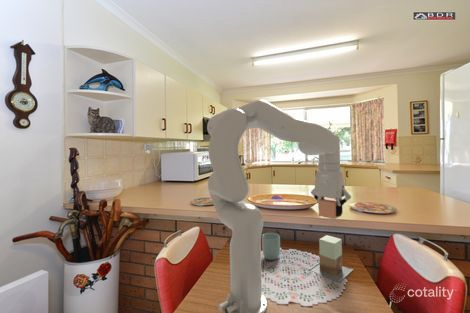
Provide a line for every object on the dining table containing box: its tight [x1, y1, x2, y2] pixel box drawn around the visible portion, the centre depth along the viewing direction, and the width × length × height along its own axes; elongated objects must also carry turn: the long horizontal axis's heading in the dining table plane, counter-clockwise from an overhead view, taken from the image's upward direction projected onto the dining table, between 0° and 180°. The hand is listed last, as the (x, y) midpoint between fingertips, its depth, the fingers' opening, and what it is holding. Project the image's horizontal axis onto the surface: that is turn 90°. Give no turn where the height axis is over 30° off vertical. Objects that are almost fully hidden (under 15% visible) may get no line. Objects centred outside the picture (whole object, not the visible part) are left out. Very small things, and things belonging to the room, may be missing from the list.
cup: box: [261, 232, 281, 261], centre depth 98 cm, size 8×8×10 cm
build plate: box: [308, 260, 354, 283], centre depth 86 cm, size 12×12×1 cm
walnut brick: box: [319, 254, 343, 276], centre depth 86 cm, size 6×6×6 cm
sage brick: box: [318, 234, 343, 260], centre depth 86 cm, size 6×6×6 cm
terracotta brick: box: [318, 197, 343, 220], centre depth 86 cm, size 6×6×6 cm
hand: (330, 213), depth 86 cm, fingers closed on terracotta brick, 6 cm apart
